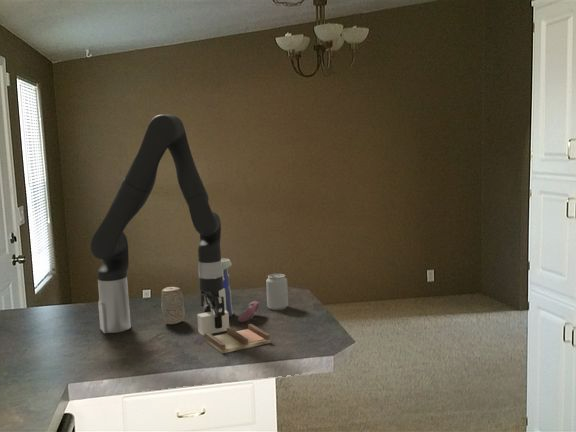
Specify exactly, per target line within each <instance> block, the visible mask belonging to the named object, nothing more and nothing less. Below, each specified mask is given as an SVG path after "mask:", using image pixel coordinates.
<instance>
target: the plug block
mask: <svg viewBox="0 0 576 432" xmlns="http://www.w3.org/2000/svg"><path fill="white" fill-rule="evenodd" d="M196 316H197V317H196V318H197V330H198V333H199V334H200V335H202V336H205V333H208V332H209V333H210V334H212V335H213V334H217V333H222V332H227V328H230V318H229V317H230V316H229V314H228V312H227V311H226V310H225V315H224V316H222V328H218V329H216V328H215V321H214V313H213V311H212V312H206V313H205V312H201V313H197V315H196Z"/></svg>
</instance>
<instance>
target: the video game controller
mask: <svg viewBox="0 0 576 432" xmlns="http://www.w3.org/2000/svg"><path fill="white" fill-rule="evenodd" d="M260 307H261V303H260V302H259V301H255V300H254V301H251V302H249V304H248V307H246V309H245V310H244V312H242V313H241V314H240V315H239V316H238V319H237V320H238V321H239V322H240V323H245V322H246V321H251V320H252V319H253V318H254V317H255V316H256V315H257V312H258V310H259V308H260Z"/></svg>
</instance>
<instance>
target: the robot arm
mask: <svg viewBox="0 0 576 432" xmlns="http://www.w3.org/2000/svg"><path fill="white" fill-rule="evenodd" d="M167 149H168V151H169V153H170V155H171V157H172V160H173V164H174V166H175V172H176V177H177V182H178V186H179V188H180V191H181V195H183V199H184V201H185V203H186V204H187V206H188V211H189V215H190V218H191V222H192V224H193V227H194V229H195V231H196V232H197V233H198V234H199V244H198V247H197V253H198V255H197V257H198V270H197V271H198V285H199V286H198V287H199V291H200V306H201V307H202V309H203V311H204V312H203V313H206V312H212V311H213V313H214V321H215V328H216V329H218V328H222V316H224V315H225V309H224V298H223V296H222V297H220V296H219V291H220V290H222V289H223V271H222V263H221V258H222V253H221V250H222V249H221V238H222V237H221V236H222V235H221V233H222V231H221V230H222V223H221V218H220V216H219V215H218V213H216V212H215V211H213V210H212V208H211V206H210V204H209V194H208V192H207V190H206V188H205V185H204V183H203V181H202V179H201V176H200V174H199V172H198V169H197V166H196V164H195V160H194V158H193V155H192V152H191V149H190V145H189V141H188V137H187V132H186V129H185V126H184V123H183V121H182V120H181V119H180V117H178V116H177V115H174V114H168V113H167V114H158V115H155V116H154V117H153V118H152V119H151V120H150V122H149V124H148V125H147V128H146V130H145V133H144V135H143V139H142V142H141V144H140V146H139V149H138V150H137V154H136V155H135V157H134V159H133V160H132V163H131V165H130V166H129V168H128V170H127V172H126V174H125V175H124V178H122V179H123V180H122V181H121V183H120V186H119V187H118V190H117V192H116V194H115V196H114V197H113V200H112V202H111V205H110V206H109V208H108V211H107V213H106V214H105V216H104V219H103V220H102V221H101V223H100V224H99V226H98V227H97V229H96V230H95V232H94V234H93V235H92V237H91V240H90V242H89V244H90V245H89V247H90V252H91V254H92V255H93V257H95V258H96V259H98V260H100V261H101V260H102V263H101V265H100V267H99V268H98V270H97V273H96V275H97V277H96V278H97V286H98V301H97V304H98V315H99V316H98V317H99V328H100V330H101V332H102V333H103V334H114V333H115V334H116V333H122V332H126V331H127V330H129V329H131V327H132V325H131V311H130V297H129V286H128V285H129V284H128V283H129V282H128V269H129V241H128V238H127V235H126V234H125V232H124V230H125V229H126V227H127V225H128V224H129V223H130V222H131V221H132V219H134V217H135V216H136V215H137V214H138V213H139V212H140V211H141V209H142V208H143V207H144V206H145V204H146V202H147V201H148V199H149V197H150V195H151V193H152V191H153V189H154V186H155V183H156V179H157V174H158V167H159V165H160V161H161V160H162V158H163V156H164V154H165V153H166V151H167ZM221 308H222V310H221Z"/></svg>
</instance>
